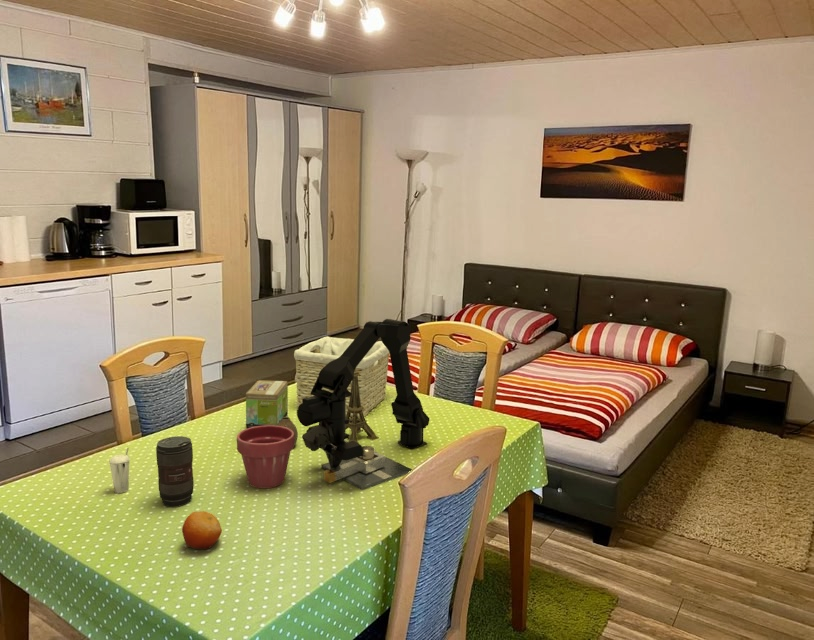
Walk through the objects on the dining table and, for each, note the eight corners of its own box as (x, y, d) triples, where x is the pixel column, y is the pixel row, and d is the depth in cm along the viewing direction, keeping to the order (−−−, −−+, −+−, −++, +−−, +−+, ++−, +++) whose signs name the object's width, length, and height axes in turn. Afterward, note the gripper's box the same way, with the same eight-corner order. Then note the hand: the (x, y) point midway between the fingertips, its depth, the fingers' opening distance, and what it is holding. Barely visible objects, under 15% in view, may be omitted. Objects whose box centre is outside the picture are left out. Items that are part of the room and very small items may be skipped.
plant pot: (286, 466, 177) (286, 421, 175) (301, 486, 165) (300, 439, 162) (233, 474, 171) (231, 428, 169) (244, 497, 158) (242, 447, 156)
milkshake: (137, 486, 163) (135, 449, 161) (122, 495, 158) (119, 457, 156) (123, 483, 164) (120, 446, 163) (107, 492, 160) (104, 454, 158)
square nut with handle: (367, 458, 180) (367, 448, 180) (385, 465, 175) (385, 456, 175) (318, 477, 168) (317, 467, 167) (336, 485, 163) (336, 475, 162)
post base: (370, 452, 188) (370, 432, 186) (412, 472, 174) (412, 451, 173) (321, 467, 176) (321, 446, 175) (361, 490, 163) (362, 467, 162)
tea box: (278, 441, 195) (277, 393, 192) (245, 440, 195) (243, 393, 192) (288, 424, 210) (287, 379, 207) (257, 423, 210) (256, 379, 207)
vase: (292, 452, 187) (292, 423, 185) (270, 449, 188) (269, 421, 186) (301, 443, 193) (300, 415, 192) (279, 441, 195) (278, 413, 193)
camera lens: (201, 495, 159) (199, 437, 156) (181, 510, 151) (178, 449, 149) (173, 490, 161) (170, 433, 158) (151, 505, 154) (148, 445, 151)
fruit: (178, 529, 140) (197, 499, 139) (211, 545, 141) (230, 516, 140) (168, 549, 132) (187, 517, 131) (203, 566, 133) (222, 535, 133)
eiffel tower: (330, 437, 199) (330, 358, 194) (357, 429, 206) (357, 352, 201) (352, 447, 191) (352, 364, 187) (379, 438, 199) (380, 359, 194)
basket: (392, 397, 239) (393, 340, 235) (366, 421, 214) (366, 356, 210) (324, 390, 247) (324, 334, 243) (292, 411, 221) (291, 349, 217)
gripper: (288, 411, 169) (289, 467, 172) (327, 433, 154) (326, 494, 158) (325, 403, 175) (325, 456, 179) (365, 424, 161) (364, 482, 165)
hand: (334, 471), depth 170 cm, fingers closed
